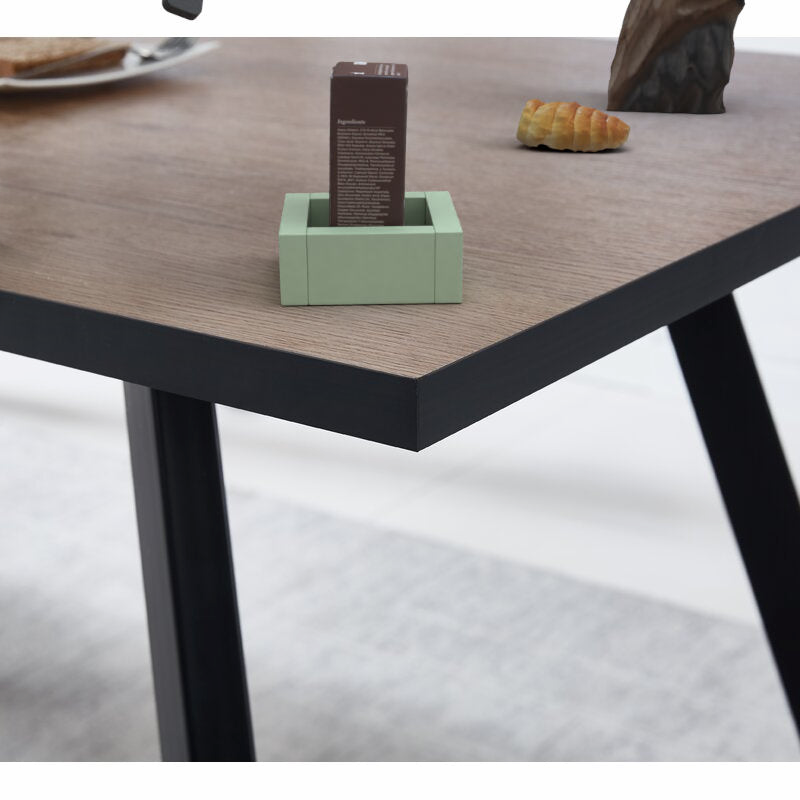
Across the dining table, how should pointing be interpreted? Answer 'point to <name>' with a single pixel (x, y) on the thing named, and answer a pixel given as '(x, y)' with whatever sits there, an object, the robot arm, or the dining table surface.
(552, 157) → the dining table surface
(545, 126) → the pastry
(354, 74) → the box
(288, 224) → the socket
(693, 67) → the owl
